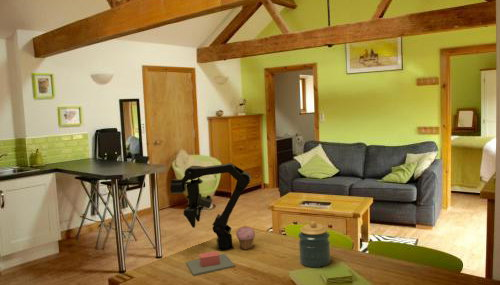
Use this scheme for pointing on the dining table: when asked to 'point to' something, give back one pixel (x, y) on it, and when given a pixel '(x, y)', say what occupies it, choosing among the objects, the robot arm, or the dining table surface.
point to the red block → (209, 259)
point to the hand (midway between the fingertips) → (196, 224)
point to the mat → (197, 269)
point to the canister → (314, 245)
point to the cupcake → (245, 237)
